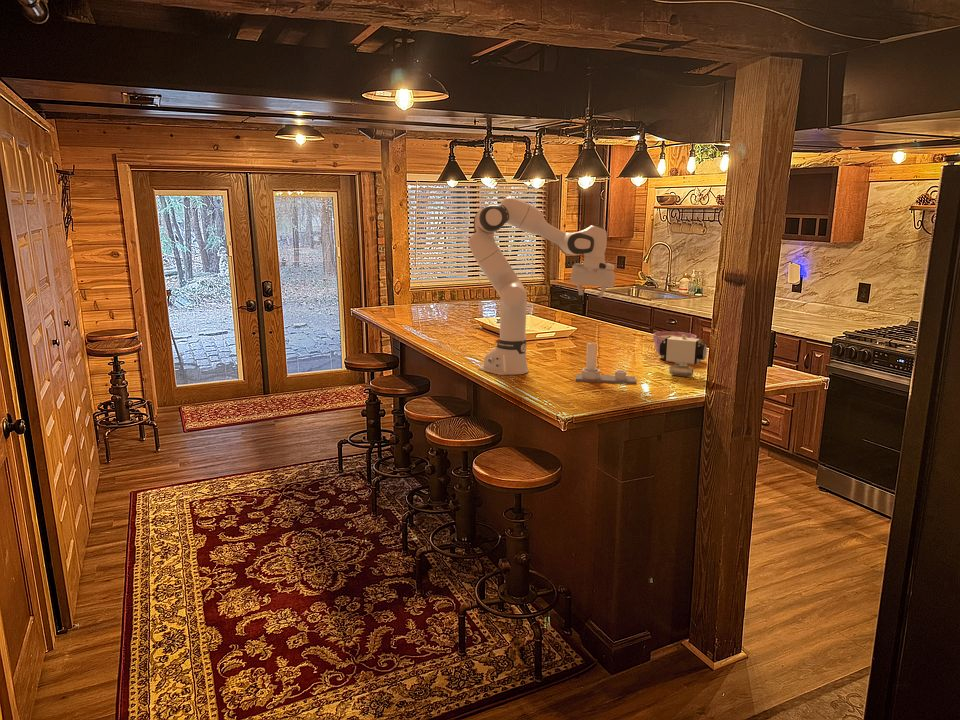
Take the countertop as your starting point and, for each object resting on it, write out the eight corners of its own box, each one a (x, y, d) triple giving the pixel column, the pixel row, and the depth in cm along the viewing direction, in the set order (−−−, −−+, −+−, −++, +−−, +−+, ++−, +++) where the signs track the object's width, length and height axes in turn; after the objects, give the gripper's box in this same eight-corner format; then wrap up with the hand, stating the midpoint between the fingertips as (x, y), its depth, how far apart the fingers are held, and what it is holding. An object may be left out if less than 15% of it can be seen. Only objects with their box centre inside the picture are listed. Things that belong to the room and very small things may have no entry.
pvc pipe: (584, 377, 274) (585, 343, 271) (588, 375, 277) (589, 342, 274) (592, 378, 272) (593, 345, 269) (597, 376, 275) (598, 343, 272)
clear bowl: (643, 358, 316) (644, 334, 313) (665, 352, 329) (666, 330, 327) (682, 365, 302) (683, 340, 299) (702, 358, 316) (704, 335, 313)
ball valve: (705, 376, 281) (708, 335, 277) (700, 380, 274) (704, 338, 270) (663, 371, 290) (665, 331, 286) (657, 375, 283) (660, 334, 279)
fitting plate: (575, 381, 271) (576, 371, 270) (576, 376, 280) (577, 367, 279) (635, 384, 267) (636, 374, 266) (634, 378, 276) (635, 369, 275)
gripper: (569, 262, 291) (566, 293, 293) (611, 265, 279) (607, 298, 281) (576, 262, 296) (573, 293, 298) (618, 266, 284) (614, 298, 286)
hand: (590, 296), depth 289 cm, fingers open, 8 cm apart
